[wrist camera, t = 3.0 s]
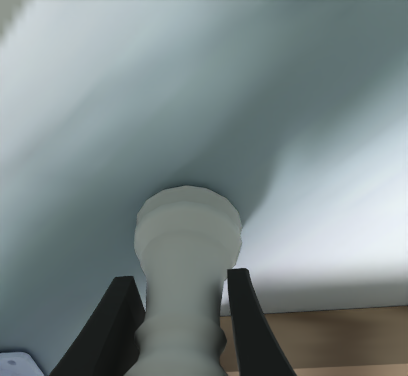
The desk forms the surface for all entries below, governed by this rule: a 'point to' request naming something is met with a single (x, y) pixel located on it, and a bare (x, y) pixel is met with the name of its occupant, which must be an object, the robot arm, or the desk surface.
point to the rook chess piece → (184, 280)
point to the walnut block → (335, 342)
